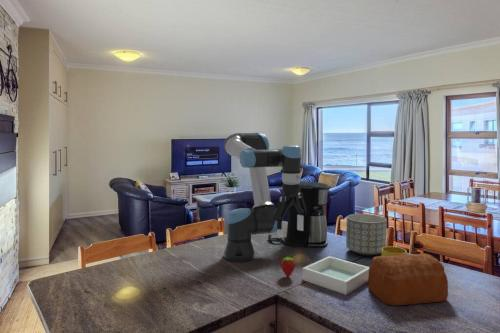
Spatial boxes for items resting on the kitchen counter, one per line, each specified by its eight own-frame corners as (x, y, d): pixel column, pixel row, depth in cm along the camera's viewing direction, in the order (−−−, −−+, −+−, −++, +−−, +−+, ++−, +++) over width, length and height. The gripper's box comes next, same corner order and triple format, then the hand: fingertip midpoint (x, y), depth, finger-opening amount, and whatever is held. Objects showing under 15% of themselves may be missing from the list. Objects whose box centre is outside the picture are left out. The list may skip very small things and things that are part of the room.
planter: (389, 251, 180) (390, 216, 179) (380, 262, 164) (382, 224, 163) (352, 245, 190) (352, 212, 189) (341, 255, 174) (341, 219, 173)
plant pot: (376, 267, 158) (377, 246, 157) (398, 266, 159) (399, 245, 158) (387, 276, 148) (388, 254, 147) (411, 275, 149) (411, 253, 148)
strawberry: (294, 273, 152) (294, 251, 151) (296, 280, 144) (296, 257, 143) (280, 273, 152) (280, 251, 151) (281, 280, 144) (281, 257, 143)
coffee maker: (335, 247, 188) (336, 184, 185) (277, 251, 181) (277, 186, 178) (318, 235, 210) (319, 179, 207) (266, 238, 203) (266, 181, 200)
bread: (451, 302, 125) (453, 262, 124) (389, 308, 121) (390, 266, 120) (420, 282, 142) (422, 247, 141) (364, 287, 138) (365, 250, 136)
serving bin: (302, 279, 145) (302, 268, 145) (329, 266, 159) (329, 256, 159) (346, 295, 131) (346, 282, 130) (370, 279, 145) (371, 267, 145)
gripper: (279, 187, 133) (279, 242, 135) (315, 180, 151) (314, 229, 153) (264, 185, 138) (264, 238, 140) (301, 179, 156) (300, 226, 158)
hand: (290, 233), depth 147 cm, fingers open, 13 cm apart
